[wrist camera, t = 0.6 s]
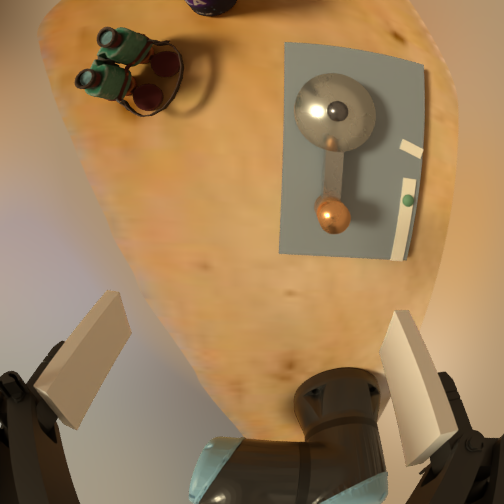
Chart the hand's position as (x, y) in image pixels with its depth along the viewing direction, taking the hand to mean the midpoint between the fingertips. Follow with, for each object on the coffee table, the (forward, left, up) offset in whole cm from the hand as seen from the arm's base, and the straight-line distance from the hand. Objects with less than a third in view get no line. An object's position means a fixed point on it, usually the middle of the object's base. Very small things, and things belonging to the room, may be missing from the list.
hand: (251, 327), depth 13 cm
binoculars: (+16, +14, -22) cm, 31 cm away
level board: (+7, -9, -22) cm, 25 cm away
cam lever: (+7, -6, -20) cm, 22 cm away
